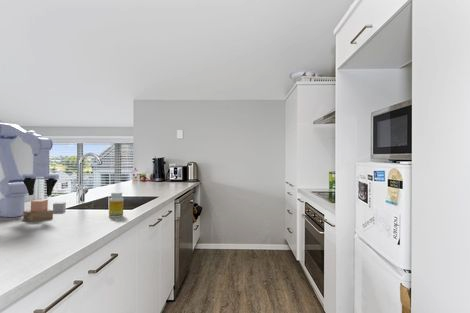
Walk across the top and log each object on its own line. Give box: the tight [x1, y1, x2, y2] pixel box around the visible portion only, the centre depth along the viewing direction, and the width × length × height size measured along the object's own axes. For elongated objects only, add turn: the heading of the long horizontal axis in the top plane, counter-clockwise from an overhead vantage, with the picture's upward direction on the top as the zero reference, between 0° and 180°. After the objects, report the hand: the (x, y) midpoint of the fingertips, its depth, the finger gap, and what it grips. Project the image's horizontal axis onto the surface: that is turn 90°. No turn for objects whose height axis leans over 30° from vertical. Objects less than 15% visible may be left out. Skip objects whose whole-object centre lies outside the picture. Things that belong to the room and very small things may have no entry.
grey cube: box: [52, 201, 67, 214], centre depth 142 cm, size 4×4×4 cm
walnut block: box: [22, 209, 54, 223], centre depth 124 cm, size 8×8×4 cm
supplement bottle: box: [108, 191, 125, 219], centre depth 134 cm, size 6×6×11 cm
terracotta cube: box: [30, 199, 49, 212], centre depth 125 cm, size 4×4×4 cm
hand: (40, 195), depth 125 cm, fingers open, 7 cm apart
